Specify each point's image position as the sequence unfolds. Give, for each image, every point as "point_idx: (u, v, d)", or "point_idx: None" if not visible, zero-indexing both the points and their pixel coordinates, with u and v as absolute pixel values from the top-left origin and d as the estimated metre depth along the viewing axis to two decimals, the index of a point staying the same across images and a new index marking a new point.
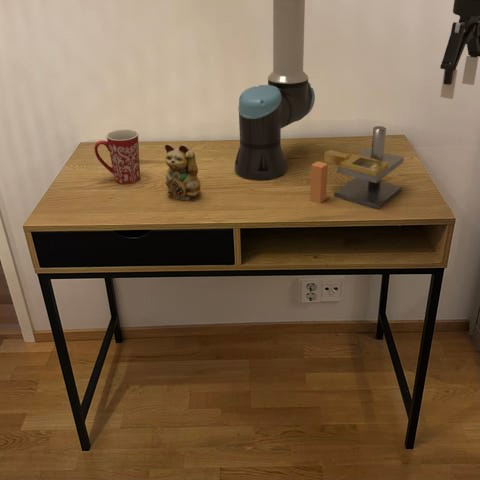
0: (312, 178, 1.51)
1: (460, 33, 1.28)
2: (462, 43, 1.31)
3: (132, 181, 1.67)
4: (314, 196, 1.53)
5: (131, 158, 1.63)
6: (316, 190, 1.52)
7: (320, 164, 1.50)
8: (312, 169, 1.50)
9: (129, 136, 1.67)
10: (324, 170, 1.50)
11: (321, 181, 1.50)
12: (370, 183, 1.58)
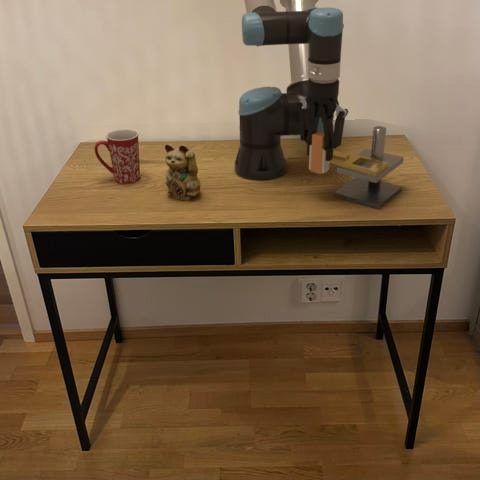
0: (313, 148, 1.48)
1: None
2: None
3: (132, 181, 1.67)
4: (315, 167, 1.50)
5: (131, 158, 1.63)
6: (317, 161, 1.49)
7: (321, 134, 1.46)
8: (313, 139, 1.46)
9: (129, 136, 1.67)
10: None
11: None
12: (370, 183, 1.58)
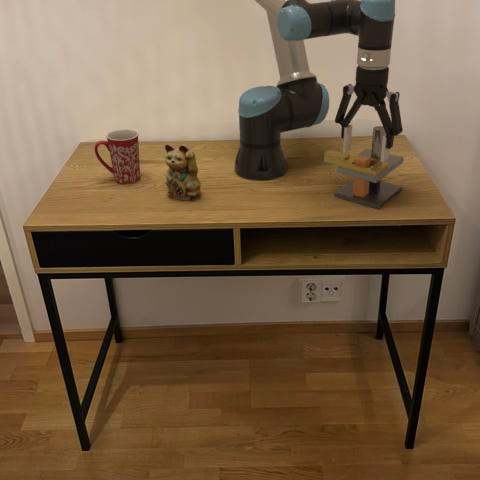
0: None
1: None
2: None
3: (132, 181, 1.67)
4: (357, 190, 1.53)
5: (131, 158, 1.63)
6: (359, 184, 1.51)
7: (362, 158, 1.49)
8: (355, 163, 1.50)
9: (129, 136, 1.67)
10: (367, 164, 1.49)
11: None
12: (370, 183, 1.58)
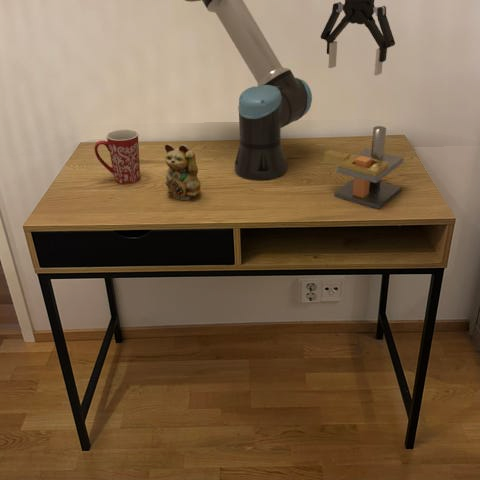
0: None
1: None
2: None
3: (132, 181, 1.67)
4: (357, 190, 1.53)
5: (131, 158, 1.63)
6: (360, 185, 1.51)
7: (364, 159, 1.49)
8: (356, 163, 1.49)
9: (129, 136, 1.67)
10: (368, 165, 1.49)
11: None
12: (370, 183, 1.58)
